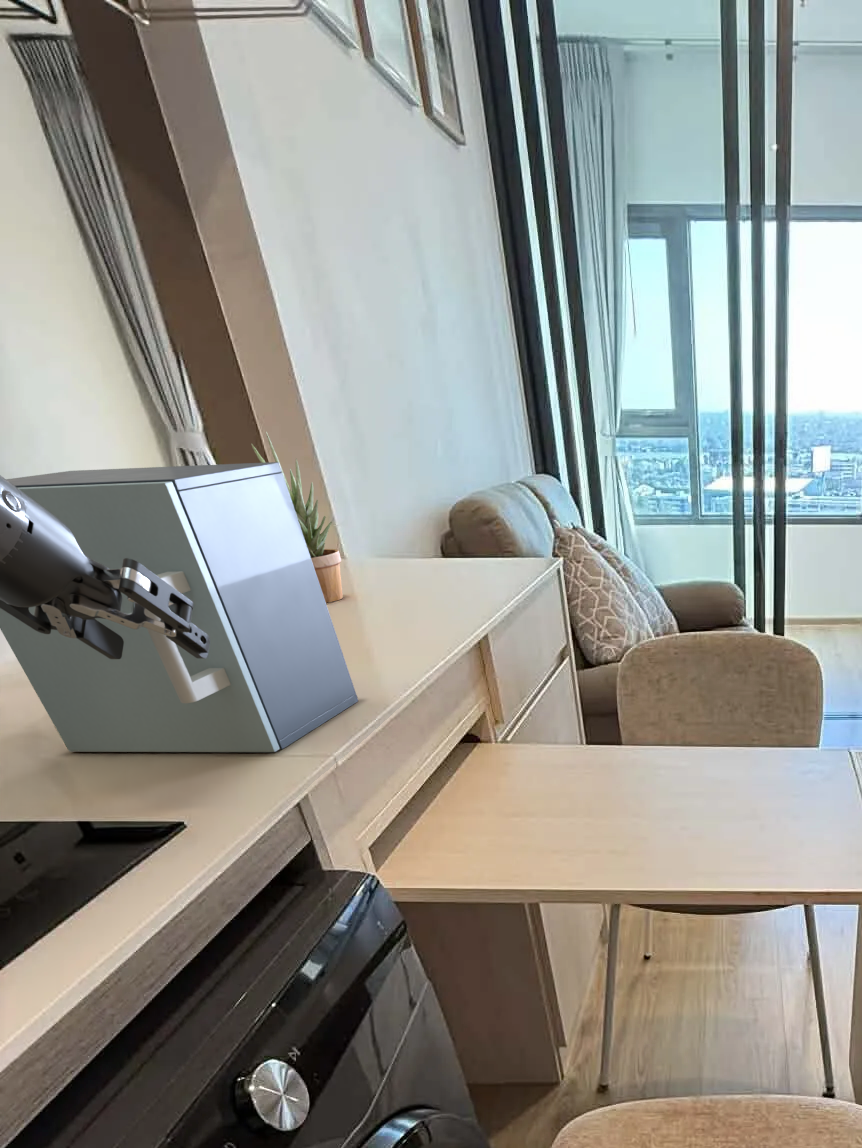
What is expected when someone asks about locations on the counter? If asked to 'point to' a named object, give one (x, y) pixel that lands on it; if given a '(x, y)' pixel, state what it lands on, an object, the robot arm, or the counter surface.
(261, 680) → the cupboard
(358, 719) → the counter surface
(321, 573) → the potted plant
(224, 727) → the door
